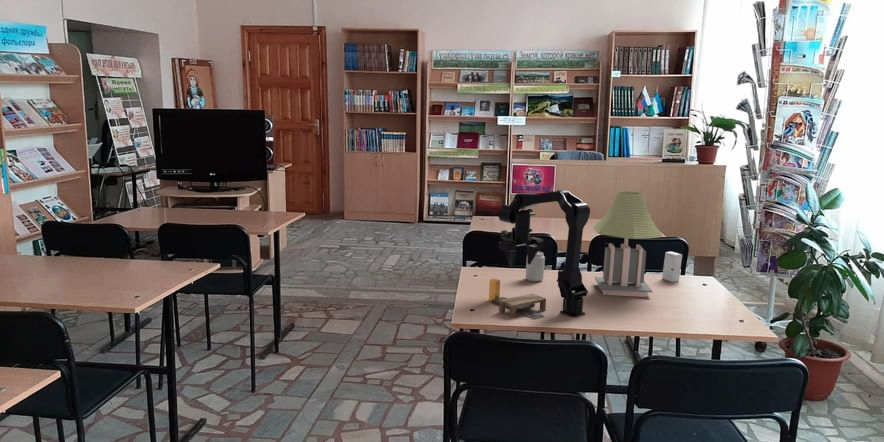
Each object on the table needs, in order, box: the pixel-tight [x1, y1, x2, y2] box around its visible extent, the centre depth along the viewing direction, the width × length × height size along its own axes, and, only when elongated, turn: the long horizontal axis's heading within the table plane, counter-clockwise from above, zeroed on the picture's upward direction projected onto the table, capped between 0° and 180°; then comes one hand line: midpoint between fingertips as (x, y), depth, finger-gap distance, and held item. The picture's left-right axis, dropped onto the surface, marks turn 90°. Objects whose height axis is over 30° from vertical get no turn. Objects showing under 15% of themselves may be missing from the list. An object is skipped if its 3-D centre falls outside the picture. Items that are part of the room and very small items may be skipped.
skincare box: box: [661, 251, 683, 283], centre depth 277 cm, size 6×4×12 cm
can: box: [525, 251, 546, 283], centre depth 269 cm, size 8×8×12 cm
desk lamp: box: [593, 190, 663, 298], centre depth 255 cm, size 26×28×40 cm
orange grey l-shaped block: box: [488, 278, 532, 313], centre depth 234 cm, size 16×6×8 cm, turn 44°
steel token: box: [523, 311, 545, 320], centre depth 223 cm, size 5×5×1 cm
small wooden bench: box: [498, 293, 547, 319], centre depth 227 cm, size 7×16×4 cm, turn 126°
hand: (520, 265), depth 245 cm, fingers open, 9 cm apart
